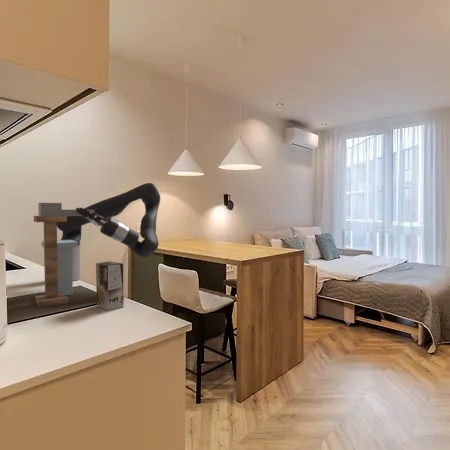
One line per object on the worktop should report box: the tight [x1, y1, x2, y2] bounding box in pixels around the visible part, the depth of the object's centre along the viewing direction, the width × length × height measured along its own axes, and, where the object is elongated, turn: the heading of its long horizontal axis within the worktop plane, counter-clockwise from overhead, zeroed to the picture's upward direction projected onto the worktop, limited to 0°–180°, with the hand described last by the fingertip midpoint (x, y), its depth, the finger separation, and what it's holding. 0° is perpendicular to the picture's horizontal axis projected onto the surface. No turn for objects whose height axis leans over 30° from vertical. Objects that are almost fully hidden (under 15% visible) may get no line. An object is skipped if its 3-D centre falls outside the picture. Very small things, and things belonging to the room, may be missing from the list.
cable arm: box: [37, 202, 95, 216], centre depth 135 cm, size 7×20×5 cm, turn 124°
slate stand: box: [41, 239, 78, 296], centre depth 145 cm, size 12×12×22 cm
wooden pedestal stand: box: [33, 215, 69, 308], centre depth 132 cm, size 10×10×33 cm
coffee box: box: [95, 260, 125, 311], centre depth 127 cm, size 9×6×16 cm
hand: (77, 209), depth 137 cm, fingers open, 5 cm apart
